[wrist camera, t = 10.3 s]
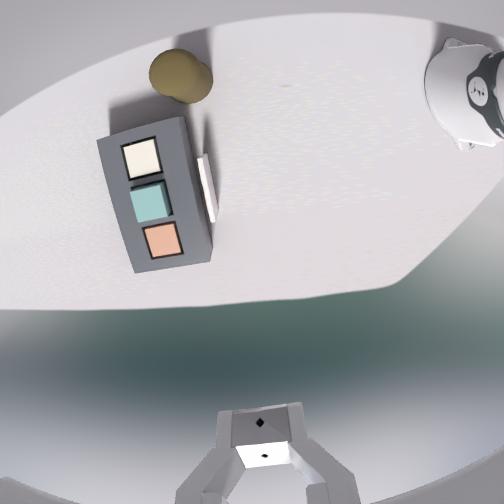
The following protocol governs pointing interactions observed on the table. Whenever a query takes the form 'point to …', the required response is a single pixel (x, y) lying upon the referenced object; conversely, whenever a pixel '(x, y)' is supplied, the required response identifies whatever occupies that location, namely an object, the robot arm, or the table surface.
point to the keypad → (179, 188)
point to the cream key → (143, 158)
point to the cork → (180, 76)
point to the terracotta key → (164, 238)
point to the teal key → (151, 201)
